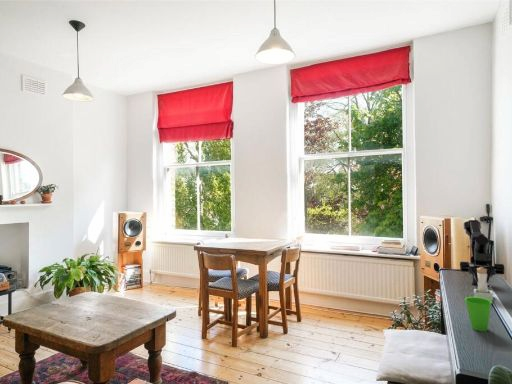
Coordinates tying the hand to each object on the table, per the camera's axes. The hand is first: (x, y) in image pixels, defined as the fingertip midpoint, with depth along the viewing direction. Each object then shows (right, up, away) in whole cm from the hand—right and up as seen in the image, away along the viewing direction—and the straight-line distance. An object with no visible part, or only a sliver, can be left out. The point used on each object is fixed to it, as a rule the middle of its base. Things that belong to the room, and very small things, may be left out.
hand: (482, 282), depth 164 cm
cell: (+1, -7, +1) cm, 7 cm away
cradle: (+1, -8, +1) cm, 8 cm away
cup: (-25, -9, -35) cm, 44 cm away
